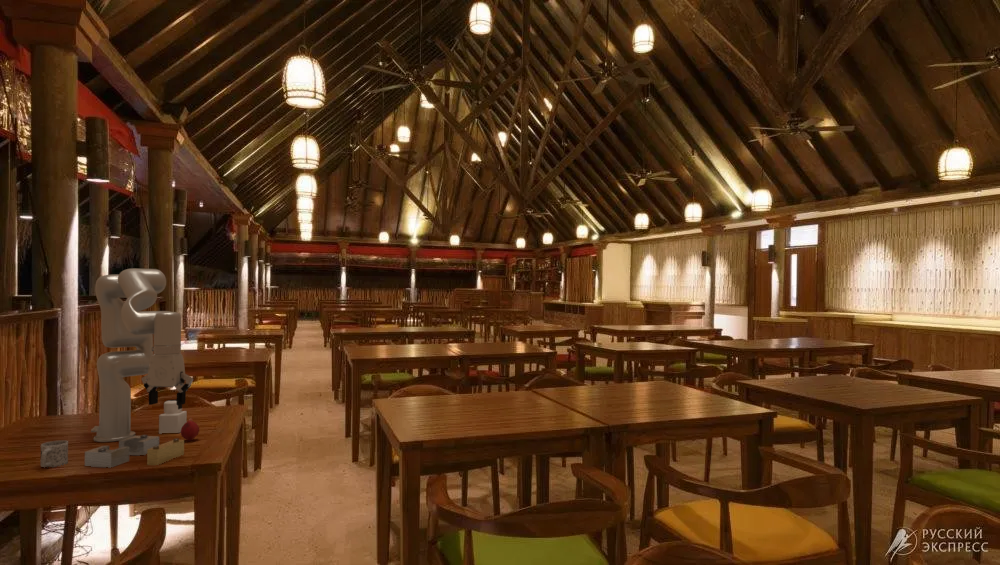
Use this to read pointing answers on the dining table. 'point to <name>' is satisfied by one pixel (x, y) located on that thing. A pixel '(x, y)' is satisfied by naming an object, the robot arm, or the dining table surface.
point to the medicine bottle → (172, 418)
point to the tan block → (165, 452)
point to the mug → (54, 453)
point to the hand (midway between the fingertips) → (167, 404)
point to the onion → (189, 430)
